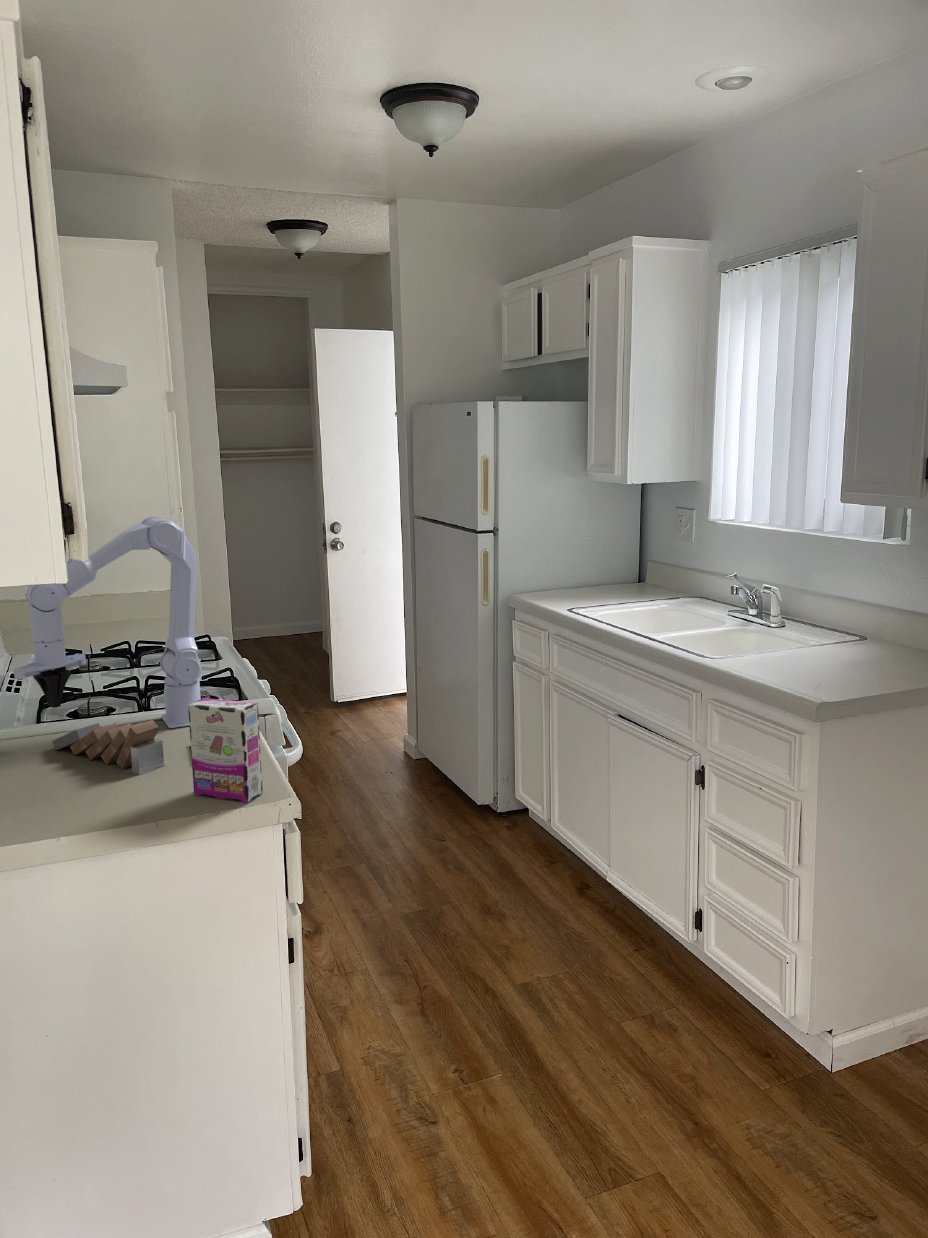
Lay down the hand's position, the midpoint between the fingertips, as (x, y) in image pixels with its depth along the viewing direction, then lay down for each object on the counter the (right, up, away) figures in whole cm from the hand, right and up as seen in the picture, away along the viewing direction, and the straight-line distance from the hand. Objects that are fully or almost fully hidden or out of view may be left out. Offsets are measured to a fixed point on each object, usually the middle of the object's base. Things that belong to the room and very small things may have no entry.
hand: (54, 706), depth 186 cm
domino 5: (+19, -9, -11) cm, 24 cm away
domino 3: (+11, -8, -6) cm, 15 cm away
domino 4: (+15, -9, -8) cm, 19 cm away
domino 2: (+7, -8, -3) cm, 11 cm away
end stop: (+23, -10, -13) cm, 29 cm away
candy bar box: (+41, -13, -25) cm, 50 cm away
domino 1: (+2, -7, 0) cm, 7 cm away
